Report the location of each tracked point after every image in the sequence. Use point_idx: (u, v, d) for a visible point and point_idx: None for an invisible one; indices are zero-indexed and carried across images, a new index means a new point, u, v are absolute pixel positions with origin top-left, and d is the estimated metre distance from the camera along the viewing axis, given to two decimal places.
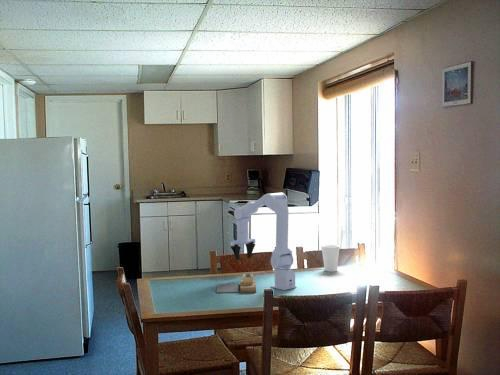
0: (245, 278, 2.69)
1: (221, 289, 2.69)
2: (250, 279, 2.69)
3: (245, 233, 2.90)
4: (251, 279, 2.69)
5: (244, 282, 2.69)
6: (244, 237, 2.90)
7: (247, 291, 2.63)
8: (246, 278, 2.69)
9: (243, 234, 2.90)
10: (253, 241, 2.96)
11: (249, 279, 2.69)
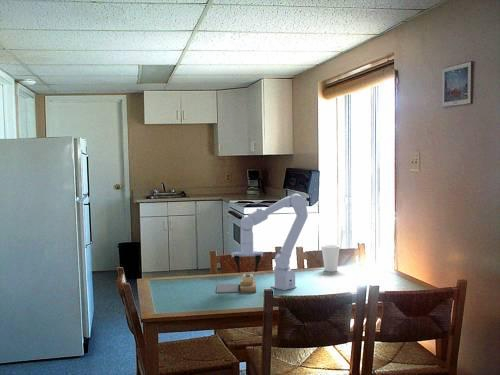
0: (245, 278, 2.69)
1: (221, 289, 2.69)
2: (250, 279, 2.69)
3: (246, 245, 2.68)
4: (251, 279, 2.69)
5: (244, 282, 2.69)
6: (244, 248, 2.69)
7: (247, 291, 2.63)
8: (246, 278, 2.69)
9: (244, 245, 2.69)
10: (260, 254, 2.71)
11: (249, 279, 2.69)
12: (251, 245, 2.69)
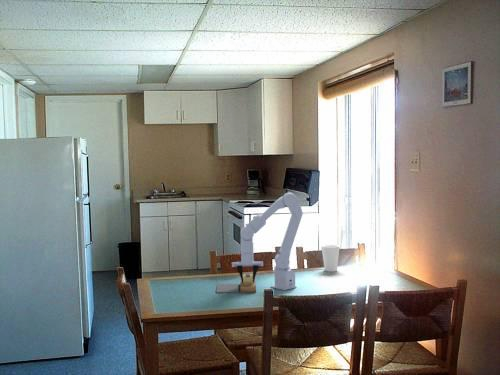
0: (245, 278, 2.69)
1: (221, 289, 2.69)
2: (250, 279, 2.69)
3: (246, 255, 2.69)
4: (251, 279, 2.69)
5: (244, 282, 2.69)
6: (245, 258, 2.69)
7: (247, 291, 2.63)
8: (246, 278, 2.69)
9: (244, 256, 2.69)
10: (260, 264, 2.71)
11: (249, 279, 2.69)
12: (251, 255, 2.70)
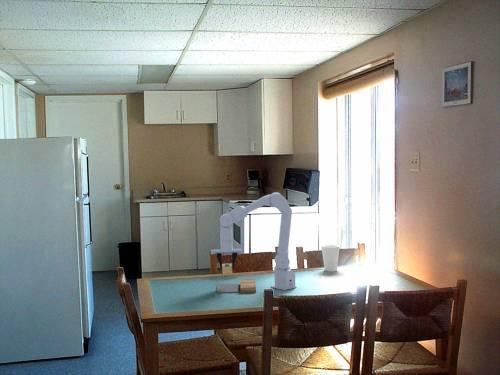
0: (224, 267, 2.68)
1: (221, 289, 2.69)
2: (229, 268, 2.68)
3: (225, 242, 2.68)
4: (230, 268, 2.68)
5: (223, 271, 2.68)
6: (224, 246, 2.68)
7: (247, 291, 2.63)
8: (225, 267, 2.68)
9: (223, 243, 2.68)
10: (240, 251, 2.70)
11: (228, 268, 2.68)
12: (230, 242, 2.69)
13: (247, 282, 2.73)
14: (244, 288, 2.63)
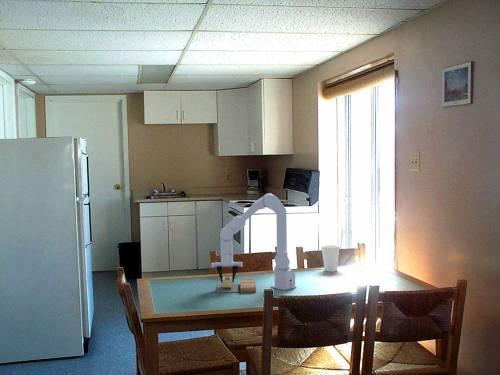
0: (225, 280, 2.68)
1: (221, 289, 2.69)
2: (229, 282, 2.68)
3: (225, 255, 2.68)
4: (230, 282, 2.68)
5: (223, 285, 2.68)
6: (224, 259, 2.69)
7: (247, 291, 2.63)
8: (225, 281, 2.68)
9: (223, 256, 2.69)
10: (240, 265, 2.71)
11: (228, 282, 2.68)
12: (231, 256, 2.69)
13: (247, 282, 2.73)
14: (244, 288, 2.63)
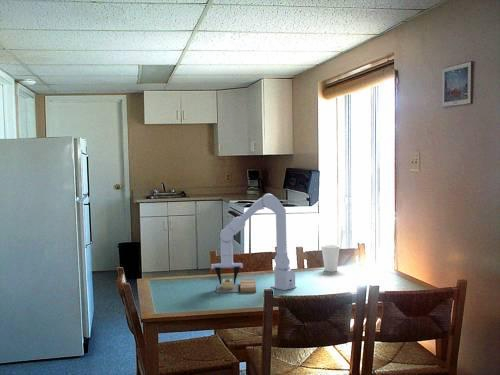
0: (225, 283, 2.68)
1: (221, 289, 2.69)
2: (230, 284, 2.68)
3: (225, 256, 2.68)
4: (231, 284, 2.68)
5: (224, 287, 2.68)
6: (224, 260, 2.69)
7: (247, 291, 2.63)
8: (226, 283, 2.68)
9: (223, 257, 2.69)
10: (240, 266, 2.71)
11: (229, 284, 2.68)
12: (231, 257, 2.69)
13: (247, 282, 2.73)
14: (244, 288, 2.63)
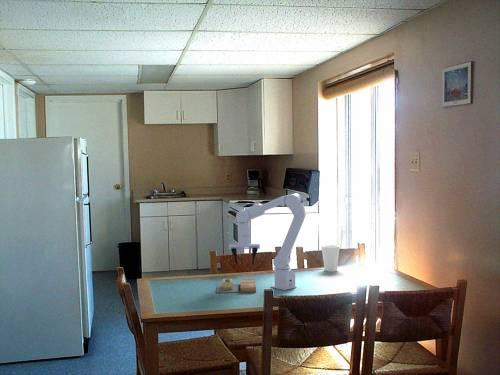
0: (225, 283, 2.68)
1: (221, 289, 2.69)
2: (230, 284, 2.68)
3: (243, 237, 2.74)
4: (231, 284, 2.68)
5: (224, 287, 2.68)
6: (241, 241, 2.74)
7: (247, 291, 2.63)
8: (226, 283, 2.68)
9: (241, 238, 2.74)
10: (257, 247, 2.76)
11: (229, 284, 2.68)
12: (248, 238, 2.74)
13: (247, 282, 2.73)
14: (244, 288, 2.63)
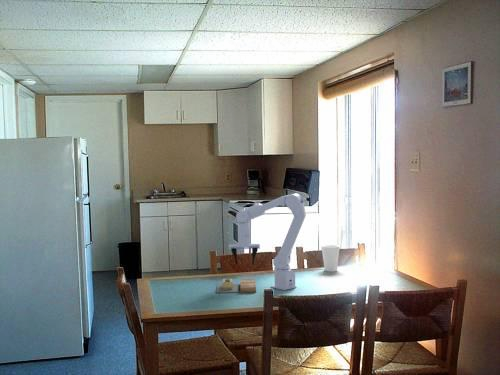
0: (225, 283, 2.68)
1: (221, 289, 2.69)
2: (230, 284, 2.68)
3: (243, 237, 2.74)
4: (231, 284, 2.68)
5: (224, 287, 2.68)
6: (241, 241, 2.74)
7: (247, 291, 2.63)
8: (226, 283, 2.68)
9: (241, 238, 2.74)
10: (257, 247, 2.76)
11: (229, 284, 2.68)
12: (248, 237, 2.75)
13: (247, 282, 2.73)
14: (244, 288, 2.63)
